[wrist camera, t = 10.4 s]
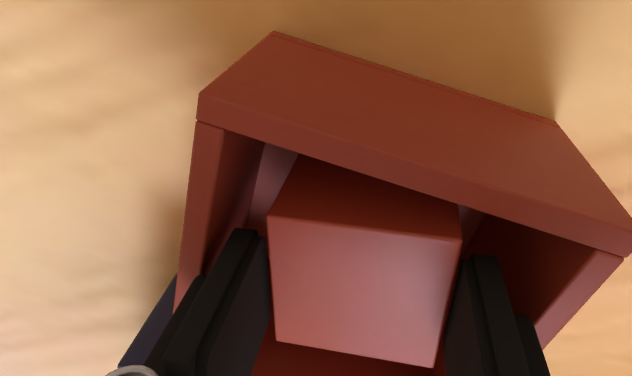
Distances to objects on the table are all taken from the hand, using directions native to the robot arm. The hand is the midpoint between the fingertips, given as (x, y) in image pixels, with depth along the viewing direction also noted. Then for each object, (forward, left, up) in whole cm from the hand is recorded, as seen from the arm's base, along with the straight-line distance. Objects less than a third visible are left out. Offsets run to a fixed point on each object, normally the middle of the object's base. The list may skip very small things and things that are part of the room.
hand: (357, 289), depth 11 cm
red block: (0, 0, -4) cm, 4 cm away
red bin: (0, 0, -5) cm, 5 cm away
